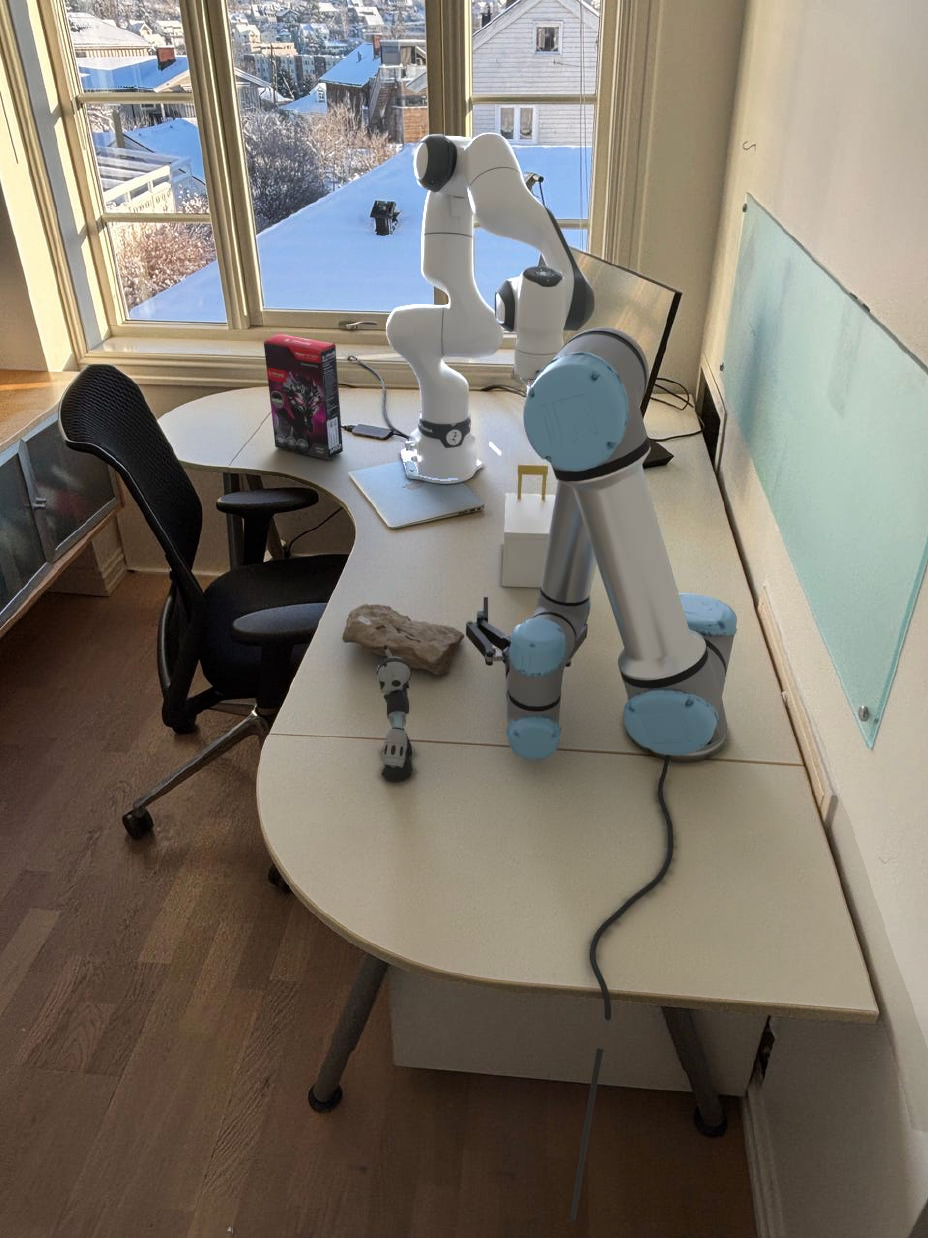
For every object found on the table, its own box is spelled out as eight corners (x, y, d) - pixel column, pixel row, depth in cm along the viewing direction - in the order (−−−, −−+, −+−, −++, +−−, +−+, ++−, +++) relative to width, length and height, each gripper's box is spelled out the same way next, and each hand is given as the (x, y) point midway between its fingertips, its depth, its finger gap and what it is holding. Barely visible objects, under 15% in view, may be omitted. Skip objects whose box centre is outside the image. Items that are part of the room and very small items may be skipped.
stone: (319, 650, 154) (325, 617, 152) (352, 620, 168) (359, 590, 165) (435, 691, 151) (444, 659, 148) (460, 657, 164) (468, 628, 162)
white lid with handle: (505, 498, 186) (506, 459, 181) (556, 500, 185) (558, 461, 181) (504, 538, 172) (505, 497, 167) (558, 540, 172) (561, 498, 167)
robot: (414, 810, 128) (411, 698, 117) (379, 811, 128) (372, 699, 117) (414, 719, 145) (410, 613, 133) (382, 720, 144) (377, 613, 133)
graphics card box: (273, 448, 231) (260, 339, 216) (289, 438, 236) (278, 332, 221) (329, 461, 225) (320, 351, 210) (345, 451, 230) (337, 342, 215)
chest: (503, 546, 191) (505, 500, 185) (552, 548, 191) (556, 502, 185) (502, 586, 178) (504, 538, 172) (555, 588, 178) (558, 540, 172)
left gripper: (557, 382, 159) (552, 457, 167) (554, 345, 176) (549, 414, 184) (520, 381, 159) (517, 456, 167) (521, 345, 176) (518, 414, 184)
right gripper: (613, 660, 140) (598, 587, 158) (449, 657, 141) (453, 584, 158) (608, 699, 144) (594, 623, 162) (449, 696, 145) (453, 620, 162)
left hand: (534, 434), depth 176 cm, fingers open, 8 cm apart
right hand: (524, 604), depth 160 cm, fingers open, 13 cm apart
